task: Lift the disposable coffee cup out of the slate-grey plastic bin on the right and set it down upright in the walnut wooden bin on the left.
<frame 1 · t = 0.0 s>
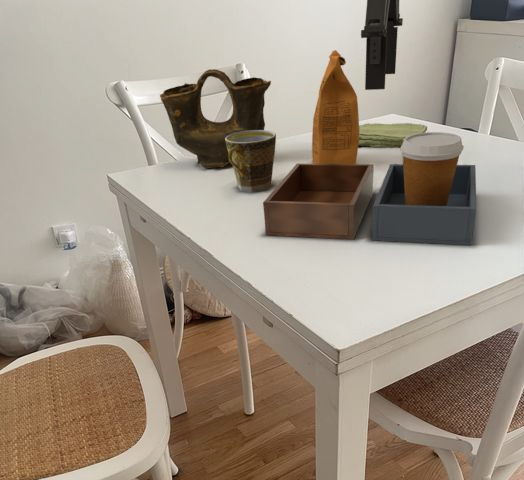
hand: (381, 81, 83), 21 cm above the table, tool pointing down, fingers open, 13 cm apart
wood bin: (322, 213, 96), on the table
coffee package: (335, 166, 119), on the table
grey bin: (424, 216, 91), on the table
pottery vessel: (223, 163, 128), on the table
washcloth: (387, 141, 133), on the table
disposable coffee cup: (425, 214, 90), resting on grey bin
ceramic cup: (251, 190, 110), on the table
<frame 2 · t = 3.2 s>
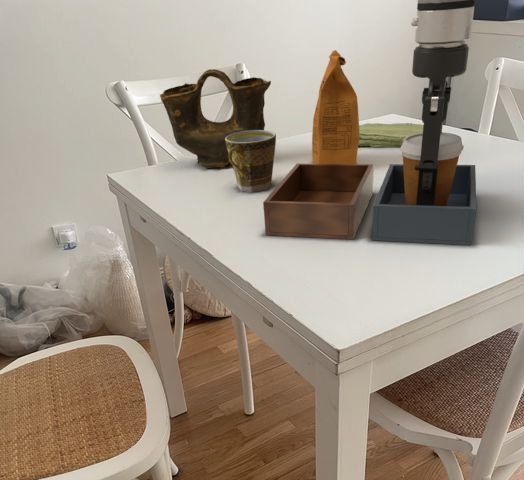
hand: (426, 200, 89), 3 cm above the table, tool pointing down, fingers closed on disposable coffee cup, 8 cm apart
disposable coffee cup: (425, 214, 90), resting on grey bin, touching gripper
everything else where it was.
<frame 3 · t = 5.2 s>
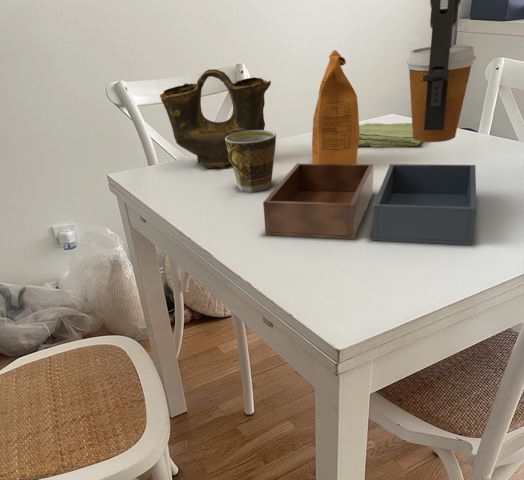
hand: (435, 122, 82), 15 cm above the table, tool pointing down, fingers closed on disposable coffee cup, 8 cm apart
disposable coffee cup: (433, 138, 83), point 13 cm above the table, touching gripper
everything else where it was.
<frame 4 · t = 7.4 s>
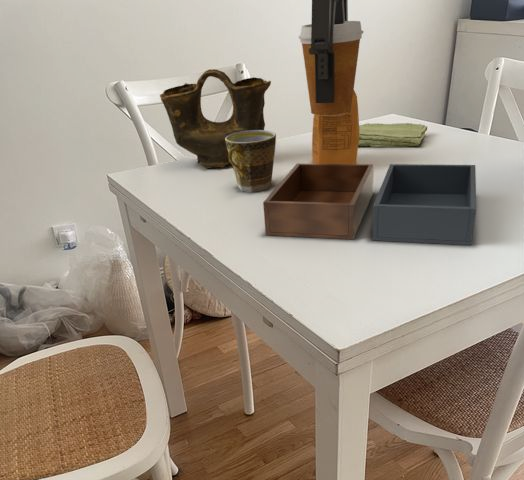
hand: (331, 96, 84), 19 cm above the table, tool pointing down, fingers closed on disposable coffee cup, 8 cm apart
disposable coffee cup: (331, 113, 86), point 17 cm above the table, touching gripper
everything else where it was.
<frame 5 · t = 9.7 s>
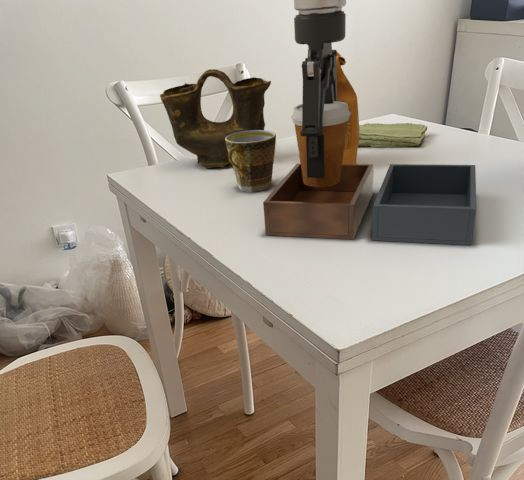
hand: (321, 168, 91), 8 cm above the table, tool pointing down, fingers closed on disposable coffee cup, 8 cm apart
disposable coffee cup: (321, 182, 93), point 5 cm above the table, touching gripper
everything else where it was.
when the fingers open (3 cm above the table, at t = 11.4 s): disposable coffee cup stays where it is, resting on wood bin.
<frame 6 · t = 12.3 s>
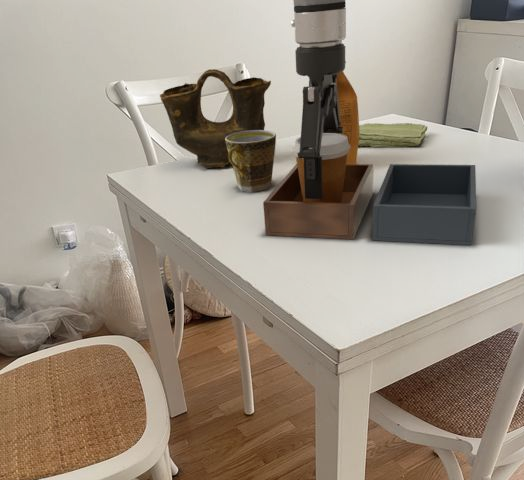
hand: (322, 184, 93), 5 cm above the table, tool pointing down, fingers open, 13 cm apart
disposable coffee cup: (322, 211, 95), resting on wood bin
everything else where it was.
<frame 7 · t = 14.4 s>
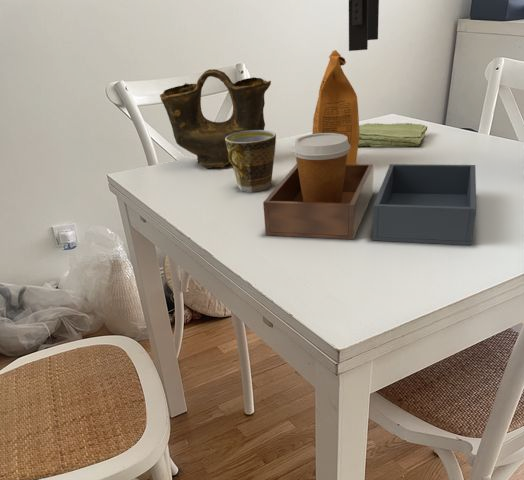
hand: (364, 45, 87), 25 cm above the table, tool pointing down, fingers open, 13 cm apart
nothing on the table moved.
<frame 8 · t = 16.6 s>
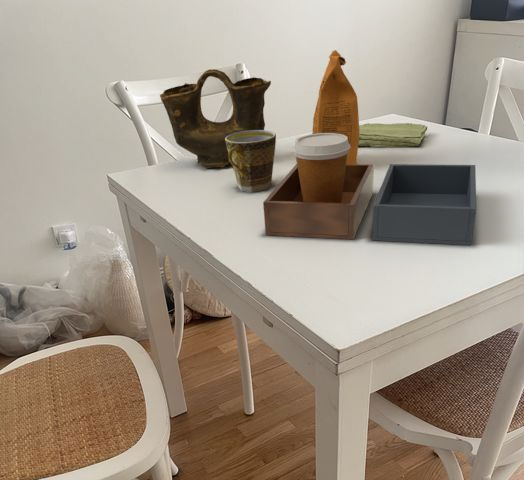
nothing on the table moved.
at the end: disposable coffee cup inside the target area in the wood bin (0.0 cm from its centre), point 0.4 cm above the wood bin's base; disposable coffee cup tilted 0°; the gripper is holding nothing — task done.
